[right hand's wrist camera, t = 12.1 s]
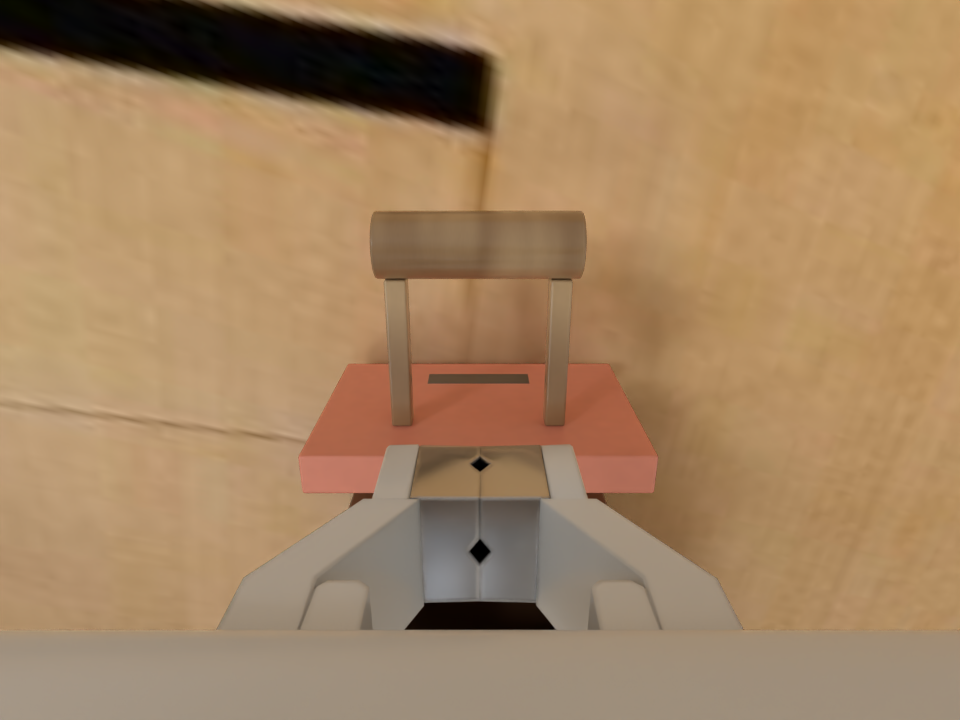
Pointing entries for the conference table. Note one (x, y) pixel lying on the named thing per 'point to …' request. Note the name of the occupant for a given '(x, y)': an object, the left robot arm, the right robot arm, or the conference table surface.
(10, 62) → the conference table surface
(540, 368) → the drawer
